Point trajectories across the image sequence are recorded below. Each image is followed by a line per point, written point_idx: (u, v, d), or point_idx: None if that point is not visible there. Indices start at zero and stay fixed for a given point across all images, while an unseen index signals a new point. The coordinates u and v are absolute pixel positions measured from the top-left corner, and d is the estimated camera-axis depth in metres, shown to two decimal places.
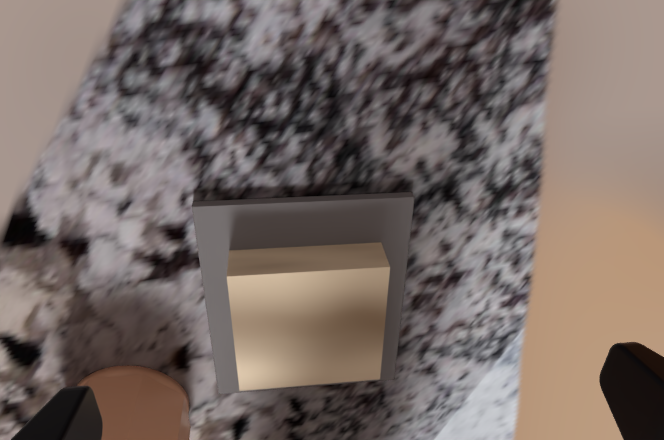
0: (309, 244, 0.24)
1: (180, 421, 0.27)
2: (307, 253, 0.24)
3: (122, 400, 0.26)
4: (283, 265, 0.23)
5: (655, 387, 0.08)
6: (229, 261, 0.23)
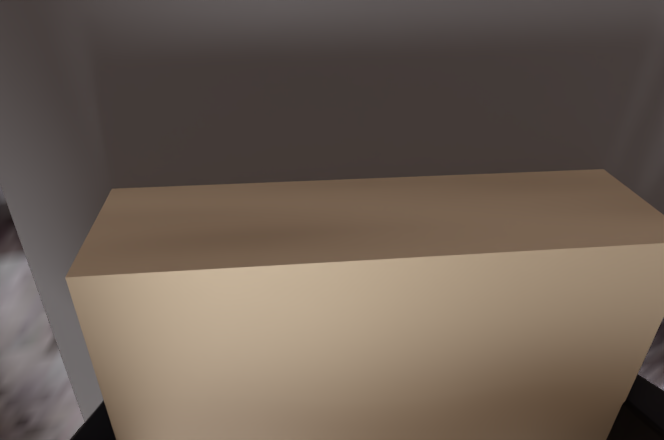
0: (381, 171, 0.07)
1: None
2: (378, 199, 0.07)
3: None
4: (298, 235, 0.06)
5: None
6: (99, 221, 0.06)
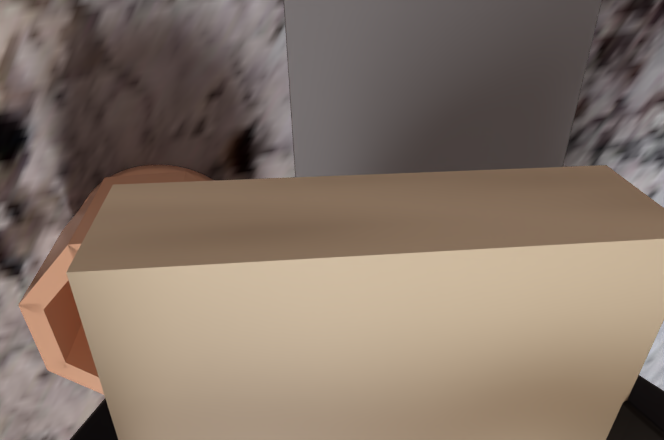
0: None
1: None
2: (379, 195, 0.07)
3: None
4: (300, 231, 0.06)
5: None
6: (100, 217, 0.06)
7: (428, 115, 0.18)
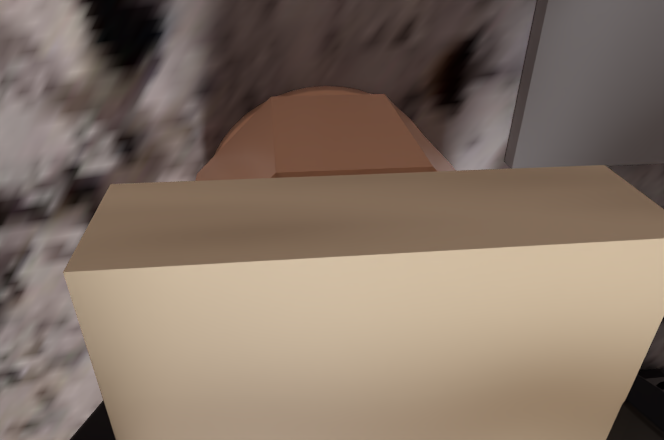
0: None
1: None
2: (378, 195, 0.07)
3: (367, 119, 0.11)
4: (298, 230, 0.06)
5: None
6: (98, 217, 0.06)
7: None
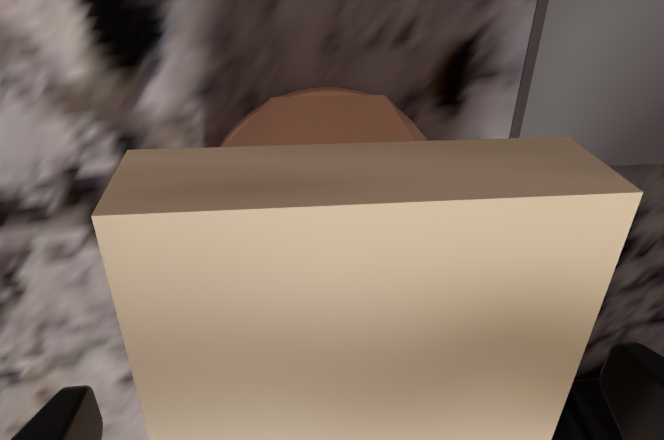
0: None
1: None
2: (364, 159, 0.08)
3: (367, 119, 0.11)
4: (293, 186, 0.07)
5: (655, 387, 0.08)
6: (118, 175, 0.07)
7: None
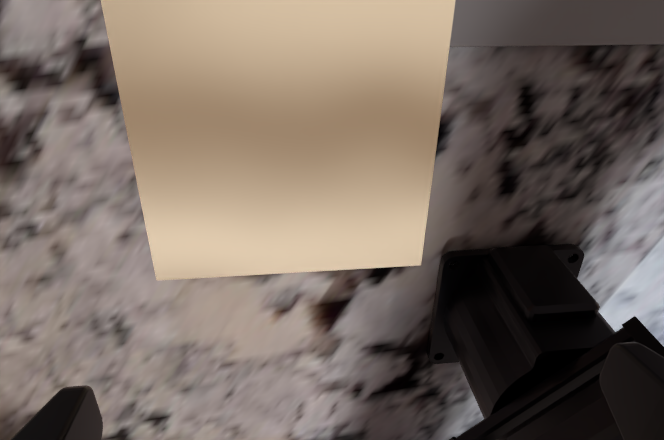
0: None
1: None
2: None
3: None
4: None
5: (655, 387, 0.08)
6: None
7: None
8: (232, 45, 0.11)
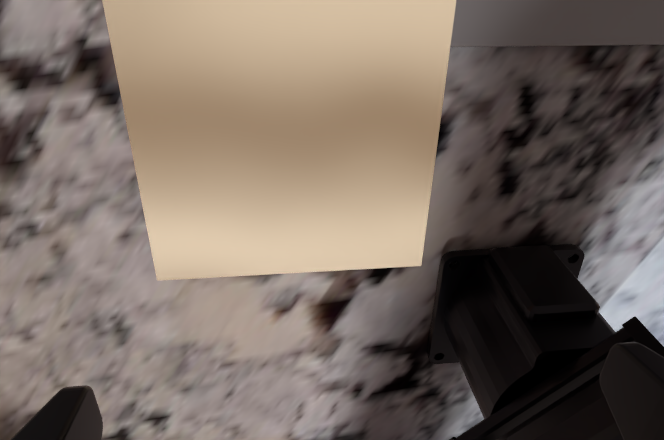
0: None
1: None
2: None
3: None
4: None
5: (655, 387, 0.08)
6: None
7: None
8: (233, 46, 0.11)
